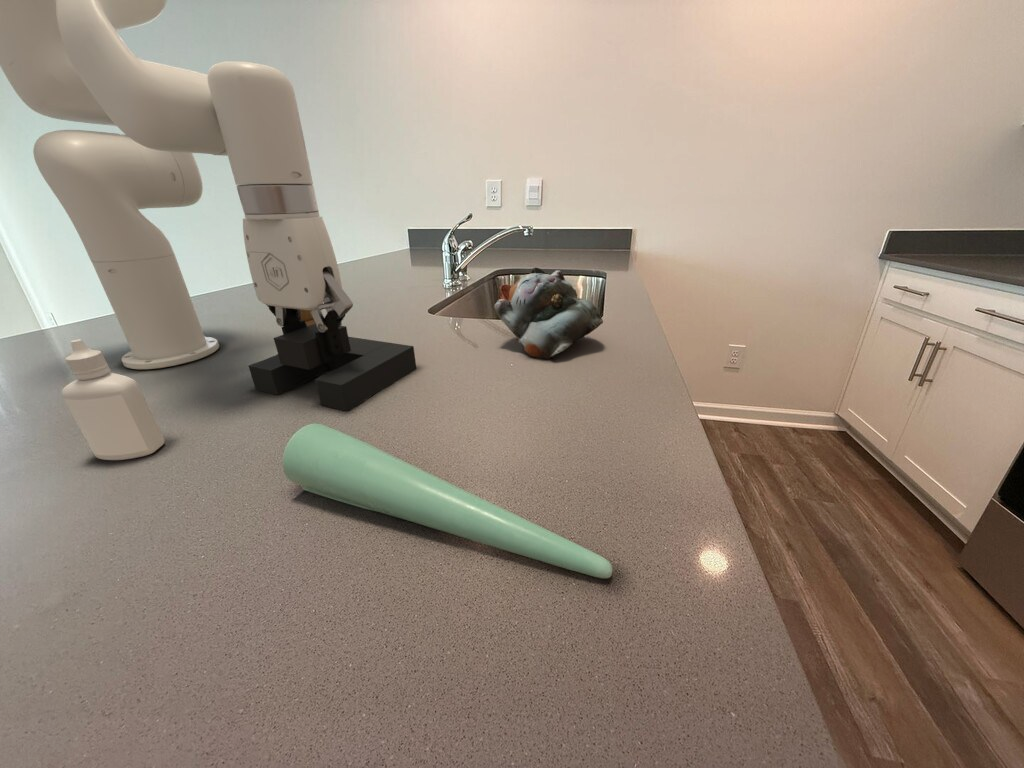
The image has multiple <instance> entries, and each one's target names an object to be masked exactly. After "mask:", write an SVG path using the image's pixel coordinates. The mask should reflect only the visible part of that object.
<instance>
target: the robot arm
mask: <svg viewBox="0 0 1024 768" xmlns="http://www.w3.org/2000/svg"><path fill="white" fill-rule="evenodd" d="M167 3H168V0H0V68H1V70H2V72H3V74H4V75H5V77H6V80H8V82H9V84H10V85H11V87H12V89H13V90H14V92H15V93H16V94H17V96H18V97H19V98H20V100H21V101H22V102H23V103H24V104H25V105H26V106H27V107H28V108H29V109H31V110H32V111H34V112H35V113H37V114H39V115H42V116H45V117H47V118H51V119H55V120H56V119H57V120H61V121H68V122H74V123H75V122H76V123H83V124H84V123H86V124H93V125H101V126H111V127H117V128H118V129H119V130H120V131H121V132H122V133H123V134H122V133H116V132H104V131H95V130H83V129H60V130H58V129H57V130H53V131H49V132H46V133H43V134H42V135H41V136H39V137H38V138H37V139H36V140H35V142H34V145H33V151H32V152H33V158H34V161H35V164H36V167H37V168H38V171H39V172H40V174H41V176H42V178H43V179H44V181H45V183H46V184H47V186H48V187H49V188H50V190H51V191H52V193H53V194H54V196H55V198H57V200H58V202H59V204H60V205H61V206H62V208H63V209H64V211H65V213H66V214H67V216H68V218H69V220H70V221H71V224H72V225H73V227H74V229H75V230H76V232H77V234H78V236H79V239H80V240H81V243H82V244H83V247H84V249H85V251H86V253H87V256H88V258H89V260H90V262H91V264H92V266H93V268H94V270H95V273H96V275H97V277H98V279H99V282H100V284H101V286H102V289H103V291H104V293H105V295H106V297H107V299H108V301H109V304H110V306H111V308H112V310H113V312H114V315H115V317H116V319H117V321H118V324H119V326H120V328H121V331H122V332H123V334H124V337H125V339H126V342H127V344H128V347H129V348H130V351H128V352H126V353H124V355H123V356H122V357H121V362H122V365H123V366H124V367H125V368H127V369H130V370H131V369H132V370H153V369H154V370H156V369H163V368H169V367H174V366H175V367H176V366H180V365H183V364H187V363H192V362H195V361H197V360H200V359H203V358H205V357H208V356H210V355H213V353H215V352H216V351H218V350H219V348H220V343H219V341H218V339H216V338H214V337H210V336H205V334H204V331H203V328H202V325H201V322H200V320H199V318H198V315H197V312H196V309H195V306H194V303H193V300H192V298H191V295H190V292H189V290H188V287H187V284H186V282H185V279H184V276H183V273H182V271H181V270H182V269H181V268H180V265H179V262H178V260H177V256H176V254H175V252H174V249H173V246H172V244H171V241H170V240H169V238H168V237H167V235H166V234H165V233H164V232H163V231H162V230H161V228H159V226H157V225H156V224H155V223H154V222H152V221H151V220H150V219H149V218H148V217H147V216H145V215H144V213H142V212H141V211H140V210H146V209H169V208H184V207H190V206H193V205H195V204H197V203H198V202H199V201H200V200H201V198H202V195H203V191H204V190H203V180H202V175H201V172H200V168H199V166H198V163H197V161H196V158H195V156H194V154H202V155H203V154H204V155H213V156H222V157H224V156H225V157H227V159H228V161H229V165H230V168H231V172H232V176H233V179H234V183H235V185H236V186H235V187H236V190H237V194H238V197H239V201H240V205H241V208H242V212H243V216H244V217H243V218H242V232H243V242H244V248H245V249H244V250H245V253H246V260H247V263H248V268H249V272H250V276H251V277H250V278H251V280H252V281H251V282H252V285H253V289H254V291H255V295H256V298H257V300H258V301H259V302H261V303H262V304H263V305H265V306H266V307H267V308H268V310H269V311H270V312H271V313H272V314H273V316H275V321H276V324H277V326H279V327H281V331H282V335H284V334H287V333H290V332H293V331H295V330H298V329H301V328H304V327H307V326H306V323H305V321H300V320H301V310H310V312H311V314H312V316H313V319H314V321H315V323H316V326H317V328H318V330H319V331H318V332H315V335H316V338H317V343H318V347H319V351H320V355H321V360H322V362H326V363H328V362H330V361H332V360H334V359H336V358H339V357H341V356H343V354H344V351H343V347H342V342H341V337H340V332H339V327H340V326H343V320H344V318H345V317H346V315H347V313H348V312H350V310H351V309H353V306H354V303H353V301H352V300H351V298H350V297H349V296H348V294H347V293H346V291H345V290H344V289H343V285H342V279H341V274H340V270H339V265H338V262H337V258H336V255H335V250H334V248H333V244H332V241H331V238H330V235H329V231H328V229H327V227H326V224H325V221H324V219H323V217H322V216H320V209H319V205H318V201H317V197H316V192H315V187H314V182H313V175H312V171H311V166H310V163H309V157H308V152H307V146H306V142H305V137H304V132H303V127H302V122H301V118H300V112H299V108H298V102H297V97H296V94H295V90H294V87H293V84H292V82H291V80H290V79H289V77H288V76H287V75H286V74H285V73H283V71H281V70H280V69H278V68H275V67H272V66H270V65H266V64H262V63H258V62H249V61H239V60H235V61H234V60H232V61H231V60H229V61H222V62H221V61H220V62H218V63H215V64H213V65H211V66H210V67H209V69H208V72H207V74H206V73H202V72H199V71H195V70H191V69H186V68H182V67H178V66H172V65H169V64H164V63H160V62H154V61H150V60H146V59H142V58H141V57H139V56H137V55H135V54H134V52H132V51H131V49H130V48H129V47H128V46H127V44H126V43H125V41H124V40H123V39H122V37H121V36H120V35H119V33H118V32H119V31H125V30H129V29H133V28H138V27H141V26H145V25H148V24H149V23H151V22H153V21H155V20H156V19H157V18H158V17H160V15H161V14H162V13H163V11H164V10H165V9H166V6H167ZM290 308H291V309H290ZM322 310H325V311H326V314H325V316H324V313H323V312H322Z"/></svg>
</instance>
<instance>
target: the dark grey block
mask: <svg viewBox="0 0 1024 768" xmlns="http://www.w3.org/2000/svg"><path fill="white" fill-rule="evenodd" d="M318 331H319V330H318V328H317V326H316V324H313V325H310V326H307V327H304V328H301V329H298V330H295V331H293V332H290V333H287V334H284V335H283V334H281V335H278V336H276V337H274V338H273V341H274V344H275V349H276V352H277V355H278V356H279V359H280V363H281V364H283V365H288V366H293V367H298V368H303V369H308V370H310V369H312V368H315V367H317V366H319V365H321V364H323V363H326V362H322V360H321V355H320V351H319V347H318V343H317V338H316V335H315V332H318ZM339 332H340V337H341V342H342V347H343V351H344V354H345V353H347V352H349V351H351V348H350V343H349V338H348V337H349V334H348V329H347V326H345V325H341V326H340V327H339Z"/></svg>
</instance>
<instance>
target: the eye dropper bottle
mask: <svg viewBox="0 0 1024 768" xmlns="http://www.w3.org/2000/svg"><path fill="white" fill-rule="evenodd" d="M70 344H71V349H72V352H71V354H70V355H68V356H66V357H65V362H66V364H67V365H68V367H69V369H70V371H71V373H72V376H73V377H74V379H75V380H73V381H71V382H70V383H68V384H66V385H65V386H64V387H63V388H62V390H61V397H62V398H63V400H64V403H65V404H66V406H67V408H68V410H69V412H70V414H71V415H72V418H73V419H74V421H75V423H76V425H77V427H78V428H79V430H80V432H81V435H83V437H84V439H85V441H86V443H87V445H88V446H89V448H90V450H91V452H92V454H93V455H94V456H95V457H96V458H97V459H99V460H103V461H124V460H132V459H136V458H141V457H146V456H149V455H151V454H153V453H155V452H156V451H157V450H159V449H160V448H161V447H162V446H163V445H164V444H165V438H164V435H163V433H162V431H161V430H160V427H159V425H158V423H157V421H156V418H155V417H154V414H153V411H152V410H151V407H150V405H149V403H148V401H147V399H146V396H145V395H144V393H143V391H142V388H141V386H140V385H139V383H138V382H137V381H136V380H135V379H134V378H132V377H129V376H128V375H123V374H119V373H115V372H111V369H110V366H109V364H108V362H107V360H106V358H105V356H104V354H103V352H102V351H101V350H97V349H91V348H89V346H88V345H87V344H85V342H84V341H83V340H82V339H74V340H71V341H70Z"/></svg>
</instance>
